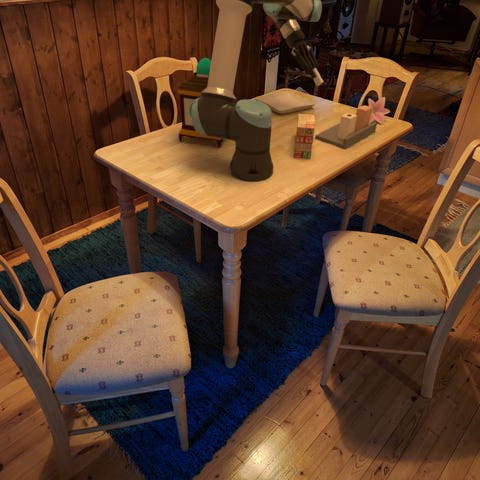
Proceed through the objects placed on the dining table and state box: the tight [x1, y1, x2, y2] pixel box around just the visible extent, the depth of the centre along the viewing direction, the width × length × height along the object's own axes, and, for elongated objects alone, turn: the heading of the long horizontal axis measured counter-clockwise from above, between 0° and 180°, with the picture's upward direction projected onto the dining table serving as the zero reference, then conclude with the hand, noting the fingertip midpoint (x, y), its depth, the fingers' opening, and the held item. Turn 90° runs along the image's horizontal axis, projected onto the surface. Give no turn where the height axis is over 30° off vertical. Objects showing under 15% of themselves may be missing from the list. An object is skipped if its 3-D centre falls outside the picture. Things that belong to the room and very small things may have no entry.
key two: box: [354, 105, 372, 131], centre depth 170 cm, size 5×4×9 cm
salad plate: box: [254, 91, 316, 115], centre depth 197 cm, size 21×21×3 cm
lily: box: [367, 96, 391, 126], centre depth 184 cm, size 12×12×10 cm
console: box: [314, 121, 378, 150], centre depth 171 cm, size 24×14×4 cm, turn 137°
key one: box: [338, 112, 357, 140], centre depth 163 cm, size 5×4×9 cm
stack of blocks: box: [293, 113, 316, 160], centre depth 159 cm, size 21×6×12 cm, turn 172°
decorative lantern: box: [176, 57, 224, 149], centre depth 159 cm, size 20×20×30 cm
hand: (320, 83), depth 175 cm, fingers closed
